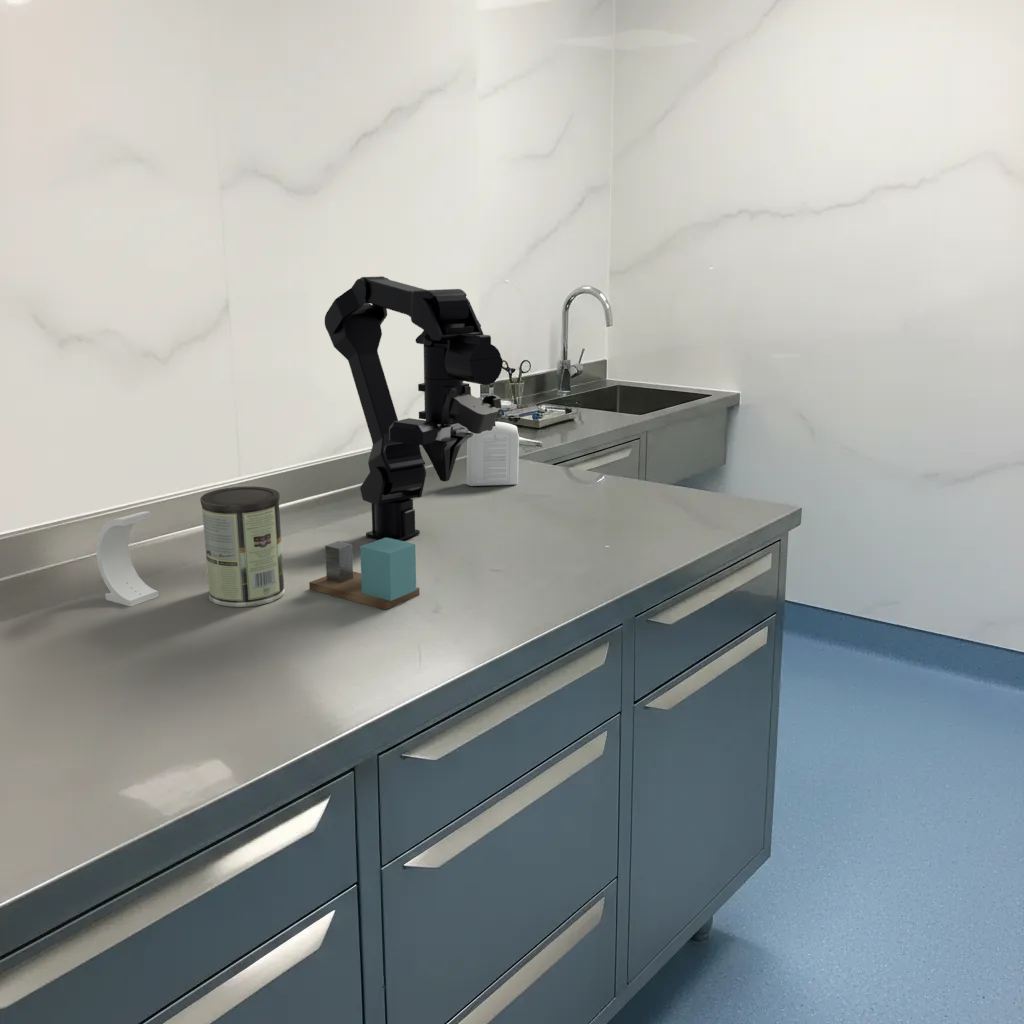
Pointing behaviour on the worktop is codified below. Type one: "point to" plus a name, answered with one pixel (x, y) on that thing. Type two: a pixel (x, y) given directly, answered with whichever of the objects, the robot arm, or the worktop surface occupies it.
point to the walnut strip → (356, 592)
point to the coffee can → (243, 546)
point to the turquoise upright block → (388, 568)
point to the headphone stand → (121, 562)
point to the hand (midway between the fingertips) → (444, 480)
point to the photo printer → (493, 456)
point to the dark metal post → (339, 562)
